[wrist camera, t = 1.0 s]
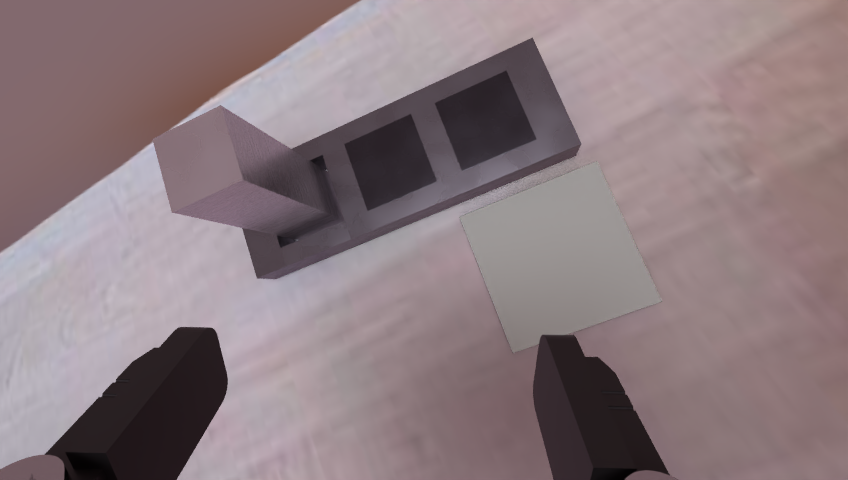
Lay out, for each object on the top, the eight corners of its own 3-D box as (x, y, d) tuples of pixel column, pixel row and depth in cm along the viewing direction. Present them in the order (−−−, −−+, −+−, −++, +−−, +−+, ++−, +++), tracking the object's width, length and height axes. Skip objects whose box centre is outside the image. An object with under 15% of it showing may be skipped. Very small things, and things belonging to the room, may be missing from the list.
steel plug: (332, 174, 33) (220, 105, 21) (348, 221, 33) (243, 180, 20) (287, 194, 34) (152, 139, 21) (302, 241, 33) (172, 212, 21)
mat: (595, 162, 29) (597, 161, 29) (660, 301, 28) (662, 301, 27) (460, 217, 31) (459, 217, 31) (512, 352, 29) (512, 353, 29)
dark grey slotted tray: (531, 57, 31) (532, 36, 29) (575, 155, 30) (581, 143, 27) (247, 186, 35) (226, 178, 32) (275, 279, 33) (256, 278, 31)
